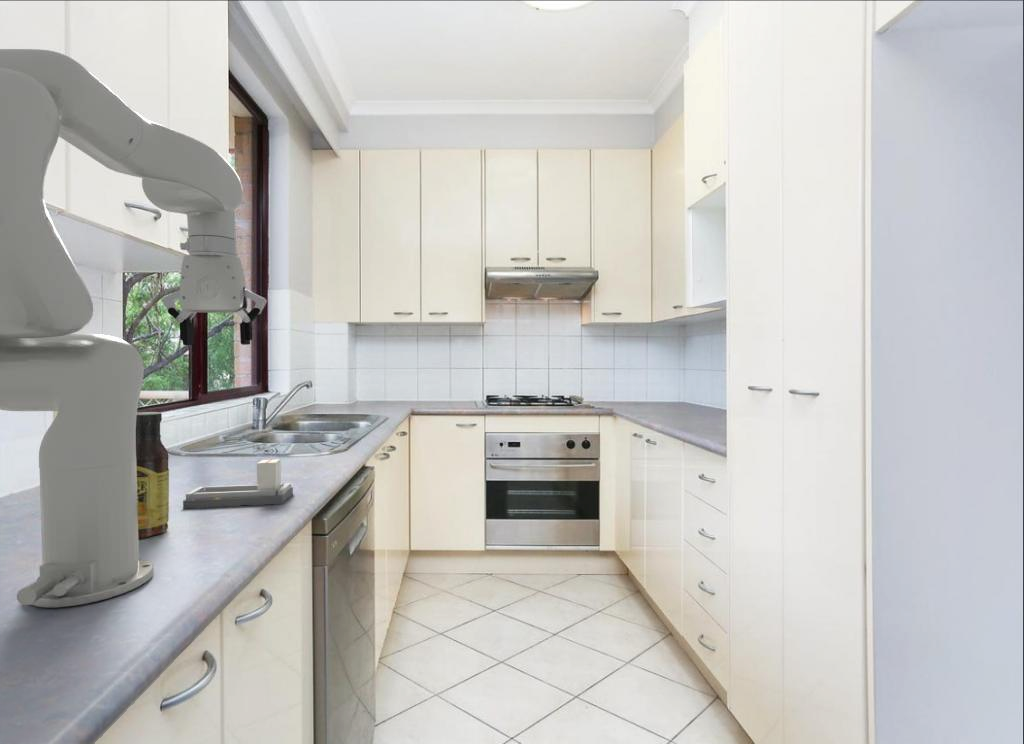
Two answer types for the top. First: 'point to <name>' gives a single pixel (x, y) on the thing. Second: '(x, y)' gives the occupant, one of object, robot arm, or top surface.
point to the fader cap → (269, 475)
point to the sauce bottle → (151, 476)
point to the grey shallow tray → (235, 496)
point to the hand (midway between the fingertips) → (217, 344)
